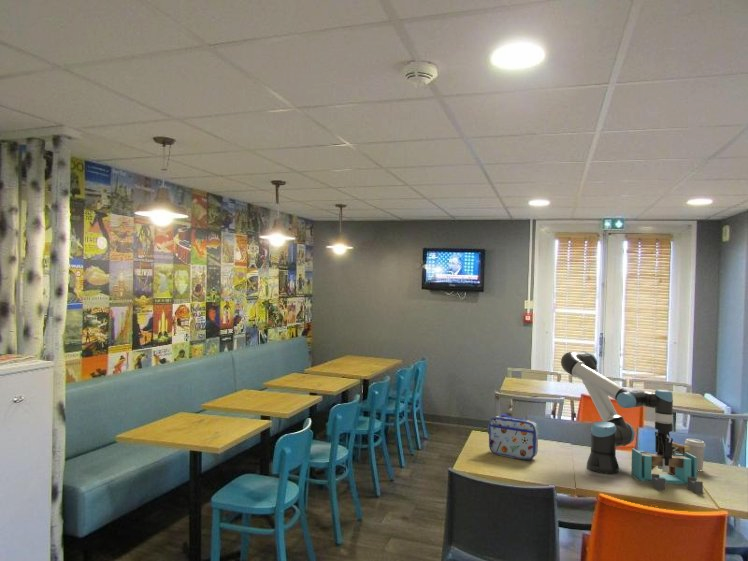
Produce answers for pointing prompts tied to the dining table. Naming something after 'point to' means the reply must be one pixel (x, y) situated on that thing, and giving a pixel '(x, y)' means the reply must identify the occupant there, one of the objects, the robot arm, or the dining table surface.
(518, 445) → the lunch box
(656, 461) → the rail
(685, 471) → the bracket
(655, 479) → the rests
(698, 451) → the coffee cup
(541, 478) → the dining table surface
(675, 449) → the candy box
